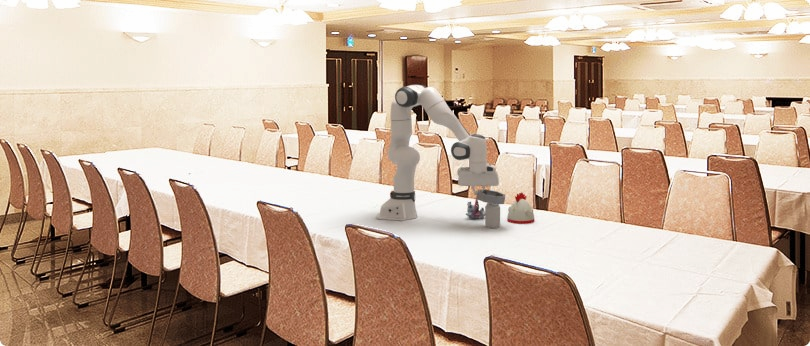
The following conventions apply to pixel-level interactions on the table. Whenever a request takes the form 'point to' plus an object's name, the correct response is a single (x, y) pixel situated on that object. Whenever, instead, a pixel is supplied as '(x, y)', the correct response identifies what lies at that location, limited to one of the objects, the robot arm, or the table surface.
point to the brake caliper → (475, 211)
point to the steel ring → (490, 196)
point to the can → (492, 215)
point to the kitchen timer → (520, 211)
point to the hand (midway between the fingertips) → (478, 194)
